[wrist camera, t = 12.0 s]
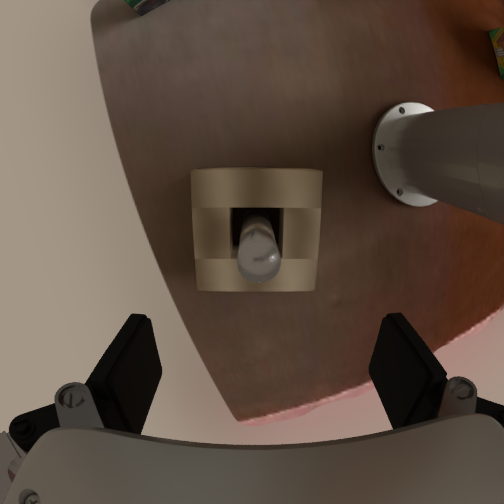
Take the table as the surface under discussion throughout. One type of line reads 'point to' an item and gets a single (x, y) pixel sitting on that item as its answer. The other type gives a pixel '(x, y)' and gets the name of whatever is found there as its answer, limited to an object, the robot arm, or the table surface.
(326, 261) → the table surface
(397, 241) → the table surface
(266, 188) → the wooden square hole block
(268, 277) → the steel peg
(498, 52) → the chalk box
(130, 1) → the coffee box
